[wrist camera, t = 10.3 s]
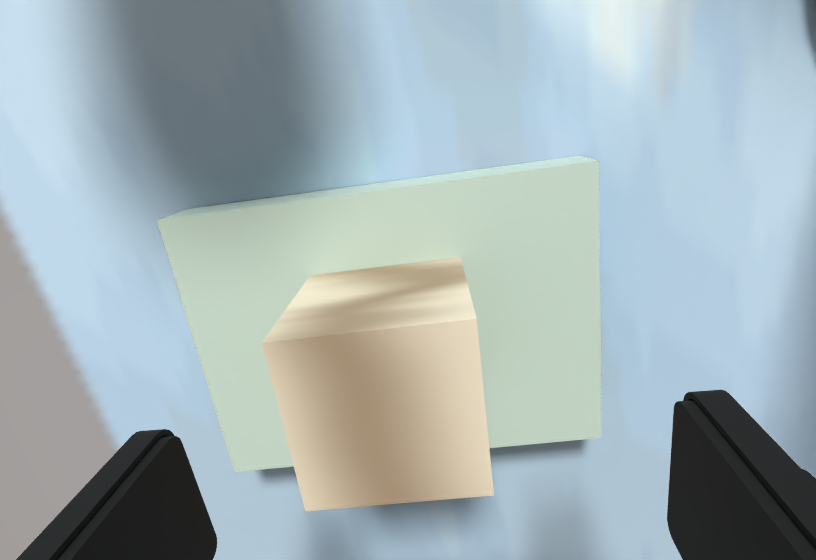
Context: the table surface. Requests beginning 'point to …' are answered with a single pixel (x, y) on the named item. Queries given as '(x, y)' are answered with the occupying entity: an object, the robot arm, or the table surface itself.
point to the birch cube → (382, 387)
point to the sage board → (400, 244)
